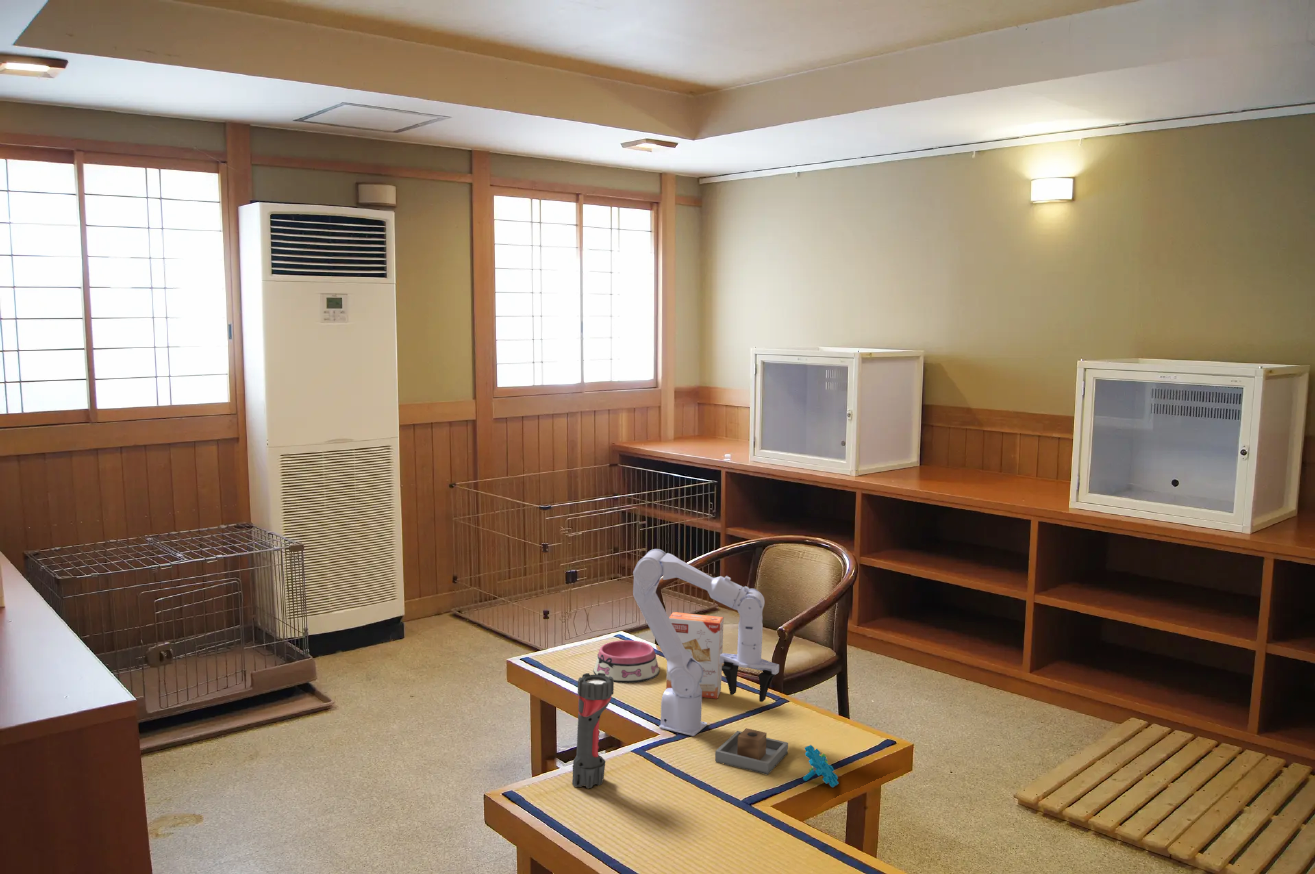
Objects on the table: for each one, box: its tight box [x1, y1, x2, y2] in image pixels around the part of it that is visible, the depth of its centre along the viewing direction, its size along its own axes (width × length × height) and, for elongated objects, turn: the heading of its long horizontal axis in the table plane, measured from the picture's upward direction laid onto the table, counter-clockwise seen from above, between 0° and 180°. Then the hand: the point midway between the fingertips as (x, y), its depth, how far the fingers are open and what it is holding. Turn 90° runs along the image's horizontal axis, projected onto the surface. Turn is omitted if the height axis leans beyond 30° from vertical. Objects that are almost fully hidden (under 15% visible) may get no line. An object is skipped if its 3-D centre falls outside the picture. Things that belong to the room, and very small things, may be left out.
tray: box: [714, 730, 789, 776], centre depth 219 cm, size 13×13×2 cm
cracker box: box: [665, 611, 724, 700], centre depth 255 cm, size 14×6×21 cm, turn 76°
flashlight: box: [571, 672, 615, 789], centre depth 204 cm, size 8×8×23 cm
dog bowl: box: [592, 639, 660, 684], centre depth 271 cm, size 18×19×7 cm
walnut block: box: [737, 728, 767, 760], centre depth 218 cm, size 5×5×5 cm
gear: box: [802, 744, 839, 788], centre depth 208 cm, size 11×6×10 cm
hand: (747, 696), depth 230 cm, fingers open, 7 cm apart
